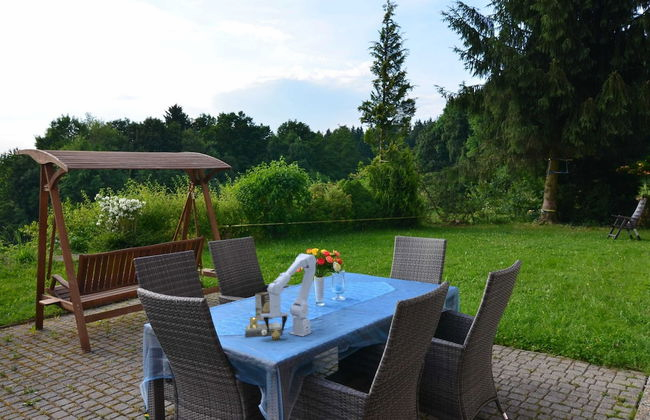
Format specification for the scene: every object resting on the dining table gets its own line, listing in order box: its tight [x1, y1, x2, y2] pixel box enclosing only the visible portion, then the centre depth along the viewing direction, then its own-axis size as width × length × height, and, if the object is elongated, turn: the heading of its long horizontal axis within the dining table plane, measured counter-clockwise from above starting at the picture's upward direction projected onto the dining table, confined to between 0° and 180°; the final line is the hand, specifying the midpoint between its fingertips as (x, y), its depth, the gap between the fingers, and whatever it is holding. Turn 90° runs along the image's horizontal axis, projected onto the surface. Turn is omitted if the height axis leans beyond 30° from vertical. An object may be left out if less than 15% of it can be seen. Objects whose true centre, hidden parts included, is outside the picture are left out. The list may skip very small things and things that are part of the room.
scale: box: [245, 322, 284, 338], centre depth 265 cm, size 14×20×4 cm
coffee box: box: [254, 291, 272, 322], centre depth 295 cm, size 9×6×16 cm
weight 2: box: [271, 329, 281, 342], centre depth 253 cm, size 4×4×5 cm
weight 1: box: [249, 316, 259, 328], centre depth 266 cm, size 4×4×5 cm
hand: (275, 330), depth 253 cm, fingers open, 7 cm apart
